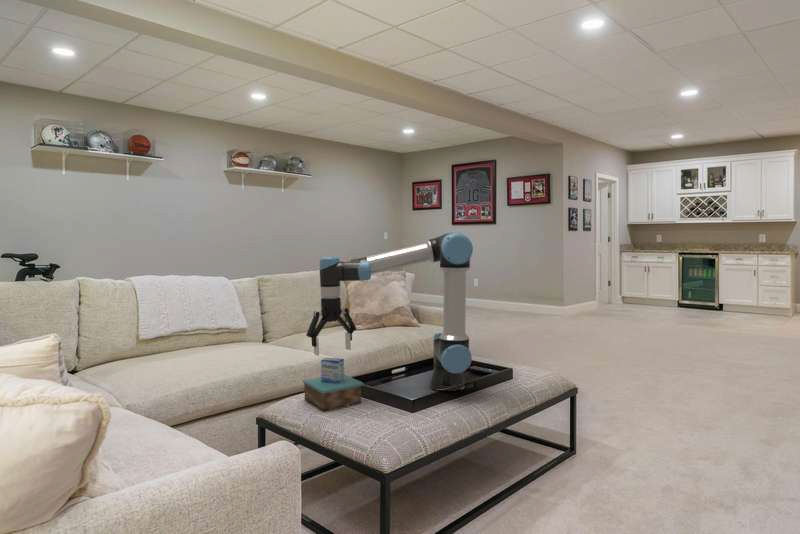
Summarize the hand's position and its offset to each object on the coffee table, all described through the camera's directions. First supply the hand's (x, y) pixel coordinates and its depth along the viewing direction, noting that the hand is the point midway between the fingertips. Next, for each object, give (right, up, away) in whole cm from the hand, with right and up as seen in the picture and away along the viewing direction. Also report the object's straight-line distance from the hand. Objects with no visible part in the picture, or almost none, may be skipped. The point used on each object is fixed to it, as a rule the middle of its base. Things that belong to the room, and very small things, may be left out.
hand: (332, 352), depth 201 cm
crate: (0, -19, +1) cm, 19 cm away
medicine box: (0, -12, +1) cm, 12 cm away
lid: (0, -12, 0) cm, 12 cm away
